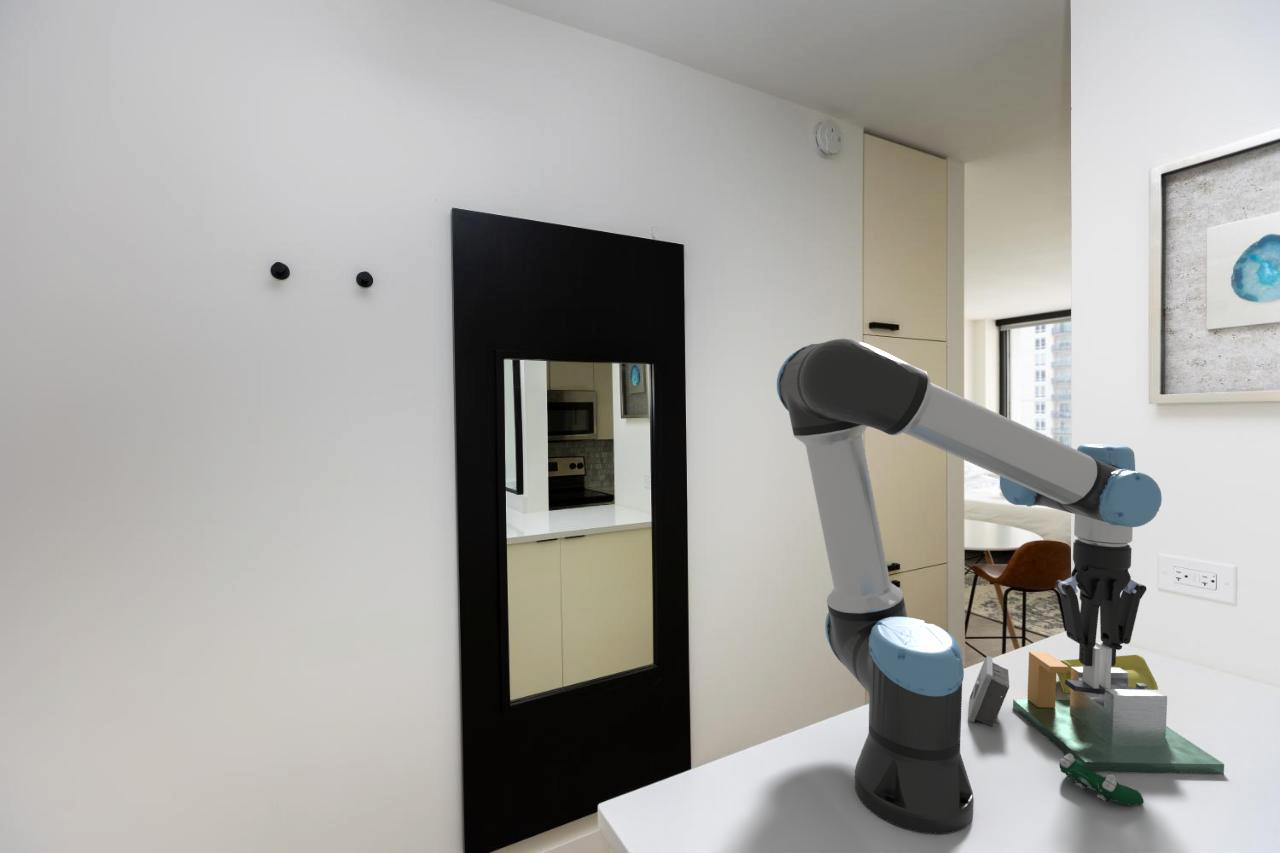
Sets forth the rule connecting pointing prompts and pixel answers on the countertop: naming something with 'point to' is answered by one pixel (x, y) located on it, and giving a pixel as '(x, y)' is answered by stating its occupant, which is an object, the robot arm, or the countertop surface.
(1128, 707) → the green mounting baseplate
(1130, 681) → the plastic component
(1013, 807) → the countertop surface
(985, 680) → the electrical switch
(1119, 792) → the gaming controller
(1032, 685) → the block
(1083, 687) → the strap
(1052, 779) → the countertop surface
